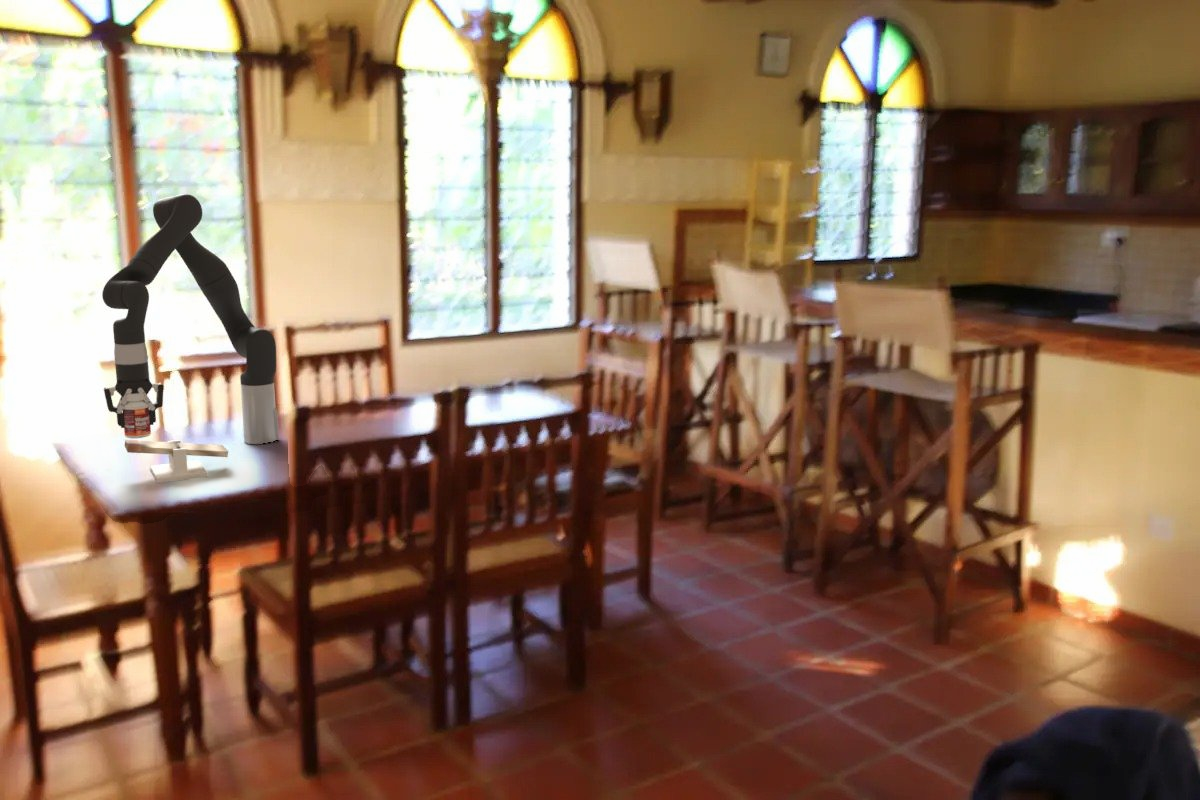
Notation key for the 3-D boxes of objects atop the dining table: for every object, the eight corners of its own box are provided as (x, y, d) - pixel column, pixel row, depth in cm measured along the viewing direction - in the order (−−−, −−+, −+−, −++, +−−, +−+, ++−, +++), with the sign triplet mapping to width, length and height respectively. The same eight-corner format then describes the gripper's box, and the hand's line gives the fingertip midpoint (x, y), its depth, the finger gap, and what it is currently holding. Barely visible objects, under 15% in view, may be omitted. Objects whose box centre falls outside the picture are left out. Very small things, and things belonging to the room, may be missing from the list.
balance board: (221, 450, 281) (222, 444, 281) (227, 458, 274) (228, 451, 274) (124, 445, 269) (125, 439, 269) (127, 453, 262) (128, 446, 262)
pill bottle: (139, 439, 263) (135, 395, 260) (119, 437, 264) (115, 393, 262) (156, 434, 268) (153, 390, 266) (136, 432, 270) (133, 389, 268)
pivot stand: (198, 463, 282) (196, 436, 280) (207, 476, 270) (205, 448, 268) (150, 469, 276) (148, 441, 274) (157, 482, 264) (155, 453, 263)
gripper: (160, 356, 269) (165, 420, 273) (98, 360, 262) (104, 425, 266) (164, 360, 263) (169, 425, 266) (101, 365, 256) (107, 432, 259)
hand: (137, 425), depth 266 cm, fingers closed on pill bottle, 6 cm apart
